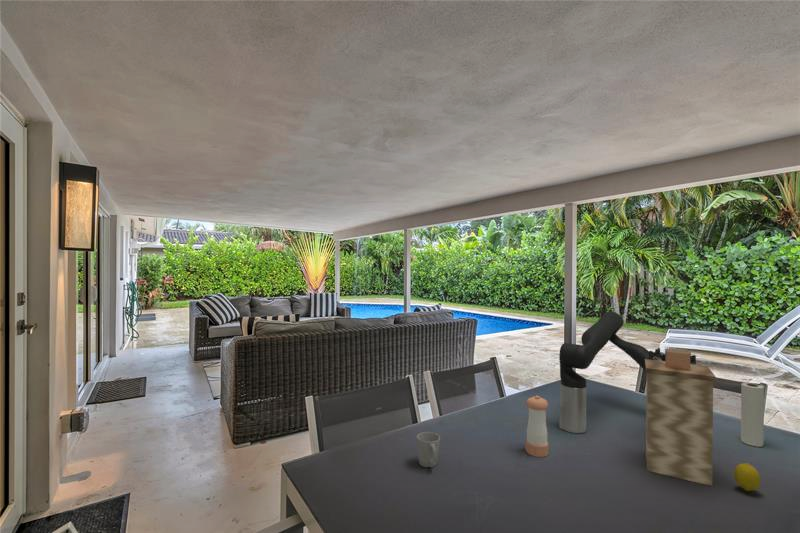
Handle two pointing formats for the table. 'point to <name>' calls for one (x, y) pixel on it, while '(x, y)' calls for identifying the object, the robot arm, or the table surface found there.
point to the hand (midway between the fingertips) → (673, 351)
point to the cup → (428, 448)
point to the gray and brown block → (677, 359)
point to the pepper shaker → (537, 427)
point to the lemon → (747, 477)
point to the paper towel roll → (752, 414)
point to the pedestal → (679, 421)
